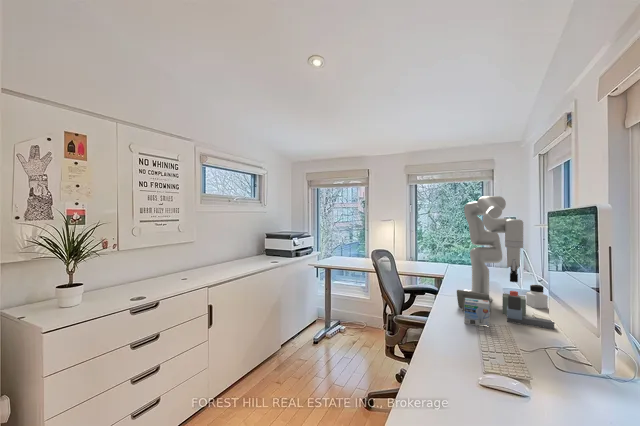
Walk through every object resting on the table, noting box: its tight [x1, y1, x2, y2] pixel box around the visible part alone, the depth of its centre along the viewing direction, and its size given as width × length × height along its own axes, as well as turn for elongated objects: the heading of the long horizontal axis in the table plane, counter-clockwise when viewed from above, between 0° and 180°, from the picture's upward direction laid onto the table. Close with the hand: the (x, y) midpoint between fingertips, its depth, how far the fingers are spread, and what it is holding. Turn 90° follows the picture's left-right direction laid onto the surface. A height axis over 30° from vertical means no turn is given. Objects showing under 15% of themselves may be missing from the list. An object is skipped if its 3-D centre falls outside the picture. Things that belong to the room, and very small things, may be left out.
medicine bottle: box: [525, 284, 549, 309], centre depth 167 cm, size 7×7×12 cm
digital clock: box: [456, 289, 492, 313], centre depth 159 cm, size 16×9×11 cm, turn 37°
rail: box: [506, 315, 555, 331], centre depth 139 cm, size 18×4×3 cm, turn 57°
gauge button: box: [509, 290, 519, 296], centre depth 154 cm, size 4×4×4 cm
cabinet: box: [502, 293, 527, 316], centre depth 154 cm, size 10×8×9 cm
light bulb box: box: [463, 298, 491, 327], centre depth 141 cm, size 11×7×11 cm, turn 62°
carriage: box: [506, 295, 522, 320], centre depth 143 cm, size 6×7×10 cm
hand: (513, 281), depth 145 cm, fingers closed
